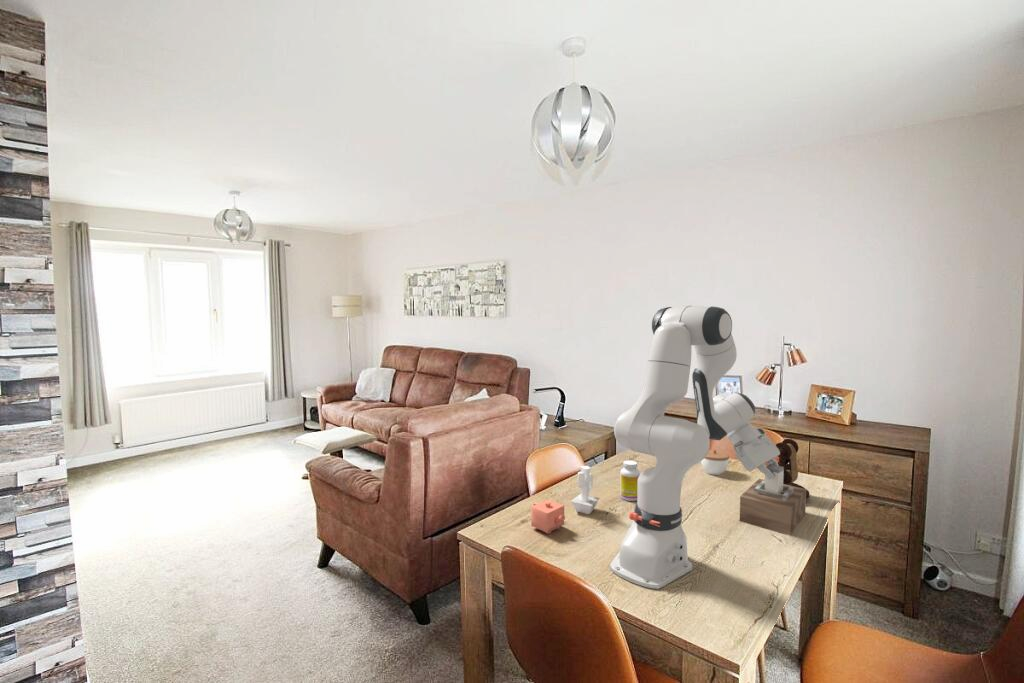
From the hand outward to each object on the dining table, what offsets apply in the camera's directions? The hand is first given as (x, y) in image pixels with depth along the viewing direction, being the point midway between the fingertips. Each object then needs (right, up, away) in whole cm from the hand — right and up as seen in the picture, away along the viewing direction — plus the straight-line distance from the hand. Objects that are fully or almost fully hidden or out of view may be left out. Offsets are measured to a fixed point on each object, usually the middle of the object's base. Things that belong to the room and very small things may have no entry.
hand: (776, 475), depth 148 cm
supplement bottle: (-42, -13, +18) cm, 48 cm away
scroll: (+13, -13, +18) cm, 25 cm away
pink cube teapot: (-73, -15, -5) cm, 74 cm away
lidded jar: (-2, -11, +41) cm, 43 cm away
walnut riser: (0, -14, +2) cm, 14 cm away
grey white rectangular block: (0, -5, +1) cm, 5 cm away
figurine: (-60, -14, +8) cm, 62 cm away
